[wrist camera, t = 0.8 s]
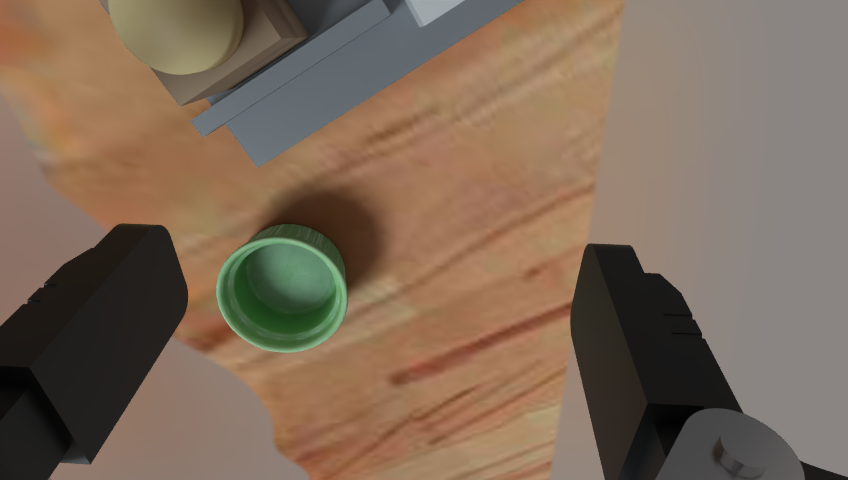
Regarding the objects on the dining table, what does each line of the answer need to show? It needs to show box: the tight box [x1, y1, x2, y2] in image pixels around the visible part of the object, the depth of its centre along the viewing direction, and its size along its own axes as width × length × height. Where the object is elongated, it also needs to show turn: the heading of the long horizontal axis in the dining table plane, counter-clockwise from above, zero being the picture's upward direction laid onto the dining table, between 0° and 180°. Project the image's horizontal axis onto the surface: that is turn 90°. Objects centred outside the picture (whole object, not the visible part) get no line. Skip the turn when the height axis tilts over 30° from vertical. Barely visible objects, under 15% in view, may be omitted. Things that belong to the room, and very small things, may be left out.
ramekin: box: [216, 224, 348, 353], centre depth 38 cm, size 9×9×4 cm
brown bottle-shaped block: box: [99, 0, 310, 106], centre depth 27 cm, size 6×6×11 cm
